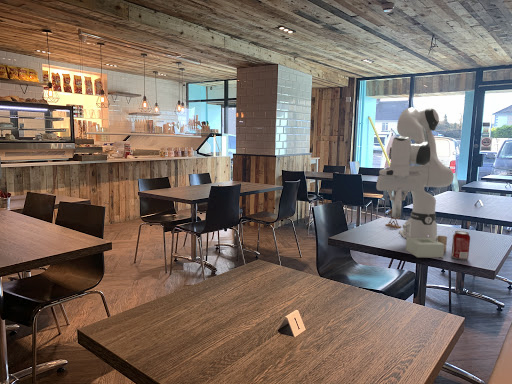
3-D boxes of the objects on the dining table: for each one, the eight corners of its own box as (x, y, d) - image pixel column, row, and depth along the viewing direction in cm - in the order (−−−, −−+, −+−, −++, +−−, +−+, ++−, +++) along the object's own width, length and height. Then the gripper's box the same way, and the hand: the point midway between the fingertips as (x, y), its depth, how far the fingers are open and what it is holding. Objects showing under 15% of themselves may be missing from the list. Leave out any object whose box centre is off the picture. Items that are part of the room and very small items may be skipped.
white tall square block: (390, 215, 190) (392, 186, 187) (398, 215, 190) (400, 186, 188) (393, 217, 186) (395, 188, 184) (402, 217, 186) (404, 188, 184)
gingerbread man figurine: (401, 227, 237) (403, 208, 235) (397, 228, 235) (399, 208, 233) (389, 225, 244) (390, 206, 242) (385, 225, 242) (386, 206, 240)
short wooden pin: (434, 249, 190) (436, 235, 189) (443, 249, 190) (444, 235, 189) (439, 251, 186) (440, 237, 185) (447, 252, 186) (448, 237, 185)
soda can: (470, 261, 172) (472, 234, 171) (453, 259, 174) (456, 233, 172) (465, 256, 179) (467, 231, 177) (449, 255, 180) (451, 230, 179)
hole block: (405, 249, 188) (406, 237, 187) (430, 250, 189) (431, 237, 188) (417, 257, 176) (418, 244, 175) (443, 257, 177) (444, 244, 176)
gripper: (417, 171, 188) (415, 199, 190) (376, 170, 187) (374, 199, 189) (424, 172, 182) (421, 201, 184) (380, 171, 181) (378, 201, 183)
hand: (397, 200), depth 187 cm, fingers closed on white tall square block, 4 cm apart
